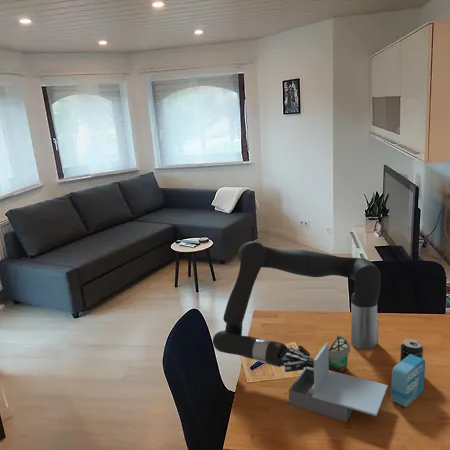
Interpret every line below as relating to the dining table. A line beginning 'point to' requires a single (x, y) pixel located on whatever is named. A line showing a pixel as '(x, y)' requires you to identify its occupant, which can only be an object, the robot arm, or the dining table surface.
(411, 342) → the beverage can
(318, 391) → the lid
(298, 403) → the box
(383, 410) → the dining table surface
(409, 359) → the data package
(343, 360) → the food container
